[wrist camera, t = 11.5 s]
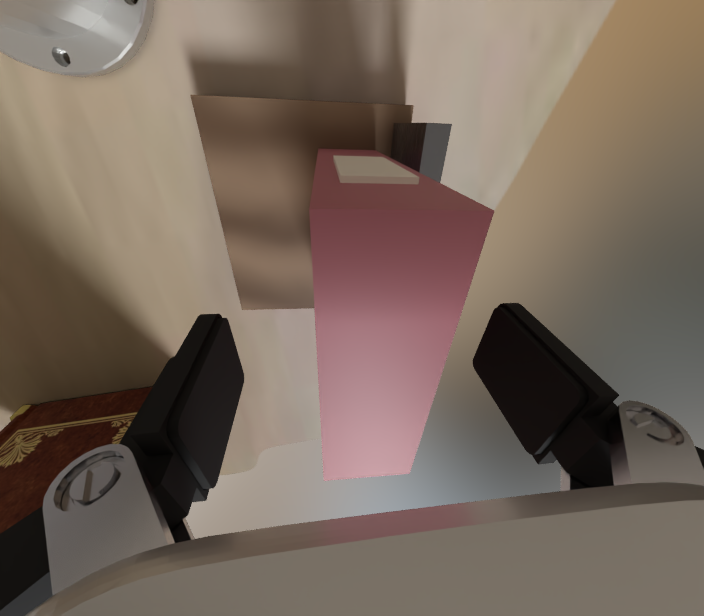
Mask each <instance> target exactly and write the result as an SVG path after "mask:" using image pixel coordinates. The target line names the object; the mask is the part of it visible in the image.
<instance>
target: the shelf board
mask: <svg viewBox="0 0 704 616" xmlns="http://www.w3.org/2000/svg"><path fill="white" fill-rule="evenodd" d="M191 99H192V103H193V107H194V112H195V116H196V120H197V124H198V128H199V132H200V137H201V141H202V145H203V149H204V153H205V157H206V161H207V166H208V170H209V174H210V178H211V182H212V186H213V191H214V195H215V199H216V203H217V207H218V211H219V216H220V220H221V224H222V228H223V232H224V236H225V241H226V245H227V249H228V253H229V257H230V261H231V265H232V270H233V274H234V278H235V282H236V286H237V290H238V295H239V299H240V303H241V307H242V310H256V309H298V308H315V307H314V289H313V270H312V252H311V234H310V215H309V207H310V200H311V194H312V187H313V181H314V174H315V168H316V161H317V155H318V148H319V149H351V150H376V151H378V152H380V153H382V154H384V155H386V156H388V157H391V147H392V137H393V127H394V123H411V121H412V114H413V106H414V105H395V104H374V103H353V102H332V101H311V100H290V99H269V98H248V97H227V96H206V95H191Z"/></svg>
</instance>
